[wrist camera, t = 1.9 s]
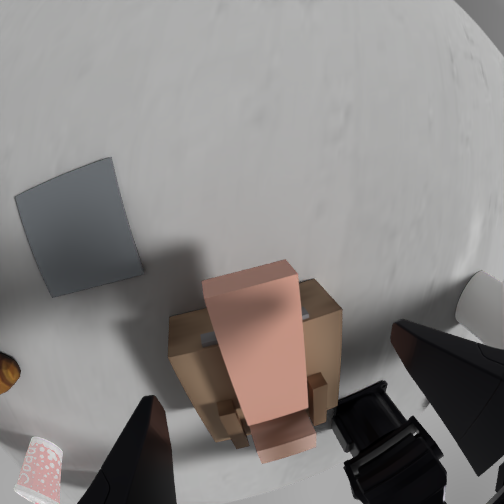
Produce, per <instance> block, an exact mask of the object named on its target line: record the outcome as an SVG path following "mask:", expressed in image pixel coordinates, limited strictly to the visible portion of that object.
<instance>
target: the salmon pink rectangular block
mask: <svg viewBox="0 0 504 504" xmlns="http://www.w3.org/2000/svg"><path fill="white" fill-rule="evenodd" d="M202 288H203V295H204V300H205V303H206V307H207V310H208V313H209V316H210V320H211V323H212V326H213V329H214V332H215V335H216V338H217V341H218V344H219V347H220V350H221V353H222V356H223V359H224V362H225V365H226V368H227V370H228V373H229V376H230V379H231V382H232V384H233V387H234V390H235V393H236V395H237V398H238V401H239V403H240V406H241V409H242V411H243V414H244V416H245V419H246V422H247V424H248V426H250V425H254V424H258V423H261V422H265V421H268V420H272V419H275V418H279V417H282V416H285V415H288V414H291V413H294V412H297V411H300V410H303V409H306V408H308V390H307V374H306V359H305V346H304V333H303V322H302V311H301V300H300V290H299V280H298V273H297V272H296V271H295V270H294V269H293V268H292V266H291V265H290V264H289V263H288V262H287V261H286V259H285V260H281V261H277V262H273V263H270V264H266V265H262V266H258V267H254V268H250V269H246V270H242V271H239V272H235V273H231V274H227V275H223V276H219V277H215V278H211V279H207V280H203V281H202Z"/></svg>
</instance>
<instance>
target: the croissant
mask: <svg viewBox="0 0 504 504" xmlns="http://www.w3.org/2000/svg"><path fill="white" fill-rule="evenodd" d="M20 373H21V370H20V367H19V365H18V364H17V363H16V362H15V360H13V359H11V358H9V357H7V356H6V355H4V354H1V353H0V394H2V393H5V392H7V391H8V390H9V389H10V388H11V387H12V386H13V385H14V384H15V383H16V381H17V380H18V379H19V377H20Z"/></svg>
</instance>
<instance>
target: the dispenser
mask: <svg viewBox="0 0 504 504" xmlns="http://www.w3.org/2000/svg"><path fill="white" fill-rule="evenodd" d="M299 290H300V300H301V311H302V322H303V333H304V346H305V359H306V374H307V390H308V408H306V409H303V410H300V411H297V412H294V413H291V414H288V415H285V416H282V417H279V418H275V419H272V420H268V421H265V422H261V423H258V424H254V425H250V426H248V424H247V422H246V419H245V416H244V414H243V411H242V409H241V406H240V403H239V401H238V398H237V395H236V393H235V390H234V387H233V384H232V382H231V379H230V376H229V373H228V370H227V368H226V365H225V362H224V359H223V356H222V353H221V350H220V347H219V344H218V341H217V338H216V335H215V332H214V329H213V326H212V323H211V320H210V316H209V313H208V310H207V308H204V309H200V310H196V311H192V312H188V313H184V314H180V315H175V316H171V317H169V337H168V359H169V361H170V363H171V365H172V367H173V369H174V371H175V373H176V375H177V377H178V379H179V380H180V382H181V384H182V386H183V388H184V390H185V392H186V393H187V395H188V397H189V399H190V401H191V402H192V404H193V406H194V408H195V409H196V411H197V413H198V415H199V416H200V418H201V420H202V421H203V423H204V425H205V426H206V428H207V429H208V431H209V433H210V434H211V436H212V437H213V439H214V441H215V442H220V441H225V440H230V439H231V440H232V442H233V444H234V446H235V447H236V449H239V448H243V447H248V446H249V442H248V439H247V435H251V434H252V437H253V441H254V444H255V447H256V451H257V453H258V456H259V458H260V460H261V462H262V464H264V463H267V462H271V461H275V460H278V459H282V458H285V457H288V456H291V455H294V454H298V453H301V452H303V451H306V450H309V449H312V448H315V447H316V432H315V430H314V428H313V426H316V425H319V424H322V423H324V422H326V415H327V410H328V409H331V408H334V407H336V406H338V395H339V382H340V367H341V347H342V308H341V307H340V306H339V305H338V304H337V303H336V302H335V300H334V299H333V298H332V297H331V296H330V295H329V294H328V293H327V292H326V291H325V290H324V288H323V287H322V286H321V285H320V284H319V283H318V282H317V281H316V280H315V279H312V280H308V281H305V282H301V283H299ZM309 417H310V419H311V421H312V423H313V425H312V423H311V421H310V419H309Z"/></svg>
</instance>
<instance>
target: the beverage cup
mask: <svg viewBox="0 0 504 504" xmlns="http://www.w3.org/2000/svg"><path fill="white" fill-rule="evenodd" d="M62 456H63V452H62V450H61V449H60V448H59V447H58V446H56V445H55V444H53V443H52V442H50V441H48V440H46V439H43V438H40V437H32V439H31V441H30V444H29V447H28V450H27V453H26V456H25V459H24V462H23V465H22V468H21V472H20V475H19V479H18V483H17V484H15V487H14V491H15V492H16V493H17V494H19V495H20V496H22V497H23V498H25V499H27V500H29V501H31V502H32V503H35V504H60V479H61V466H62Z"/></svg>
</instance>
